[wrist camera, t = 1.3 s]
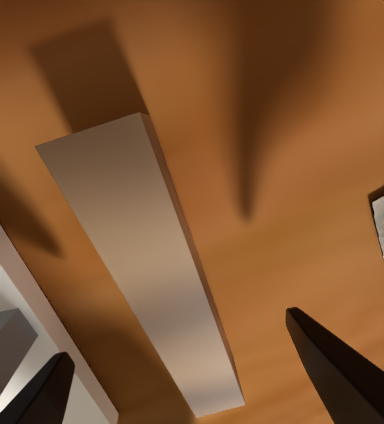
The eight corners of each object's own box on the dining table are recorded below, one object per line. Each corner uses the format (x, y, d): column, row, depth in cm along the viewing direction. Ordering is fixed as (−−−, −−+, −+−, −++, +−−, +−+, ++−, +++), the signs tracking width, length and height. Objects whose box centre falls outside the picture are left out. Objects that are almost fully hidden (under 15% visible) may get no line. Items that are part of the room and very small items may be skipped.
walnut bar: (231, 352, 15) (245, 404, 12) (192, 363, 15) (196, 418, 12) (150, 115, 8) (139, 111, 5) (80, 138, 8) (34, 146, 6)
